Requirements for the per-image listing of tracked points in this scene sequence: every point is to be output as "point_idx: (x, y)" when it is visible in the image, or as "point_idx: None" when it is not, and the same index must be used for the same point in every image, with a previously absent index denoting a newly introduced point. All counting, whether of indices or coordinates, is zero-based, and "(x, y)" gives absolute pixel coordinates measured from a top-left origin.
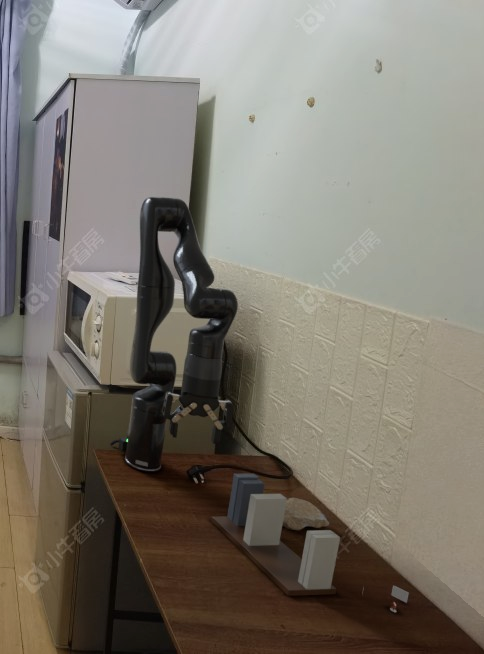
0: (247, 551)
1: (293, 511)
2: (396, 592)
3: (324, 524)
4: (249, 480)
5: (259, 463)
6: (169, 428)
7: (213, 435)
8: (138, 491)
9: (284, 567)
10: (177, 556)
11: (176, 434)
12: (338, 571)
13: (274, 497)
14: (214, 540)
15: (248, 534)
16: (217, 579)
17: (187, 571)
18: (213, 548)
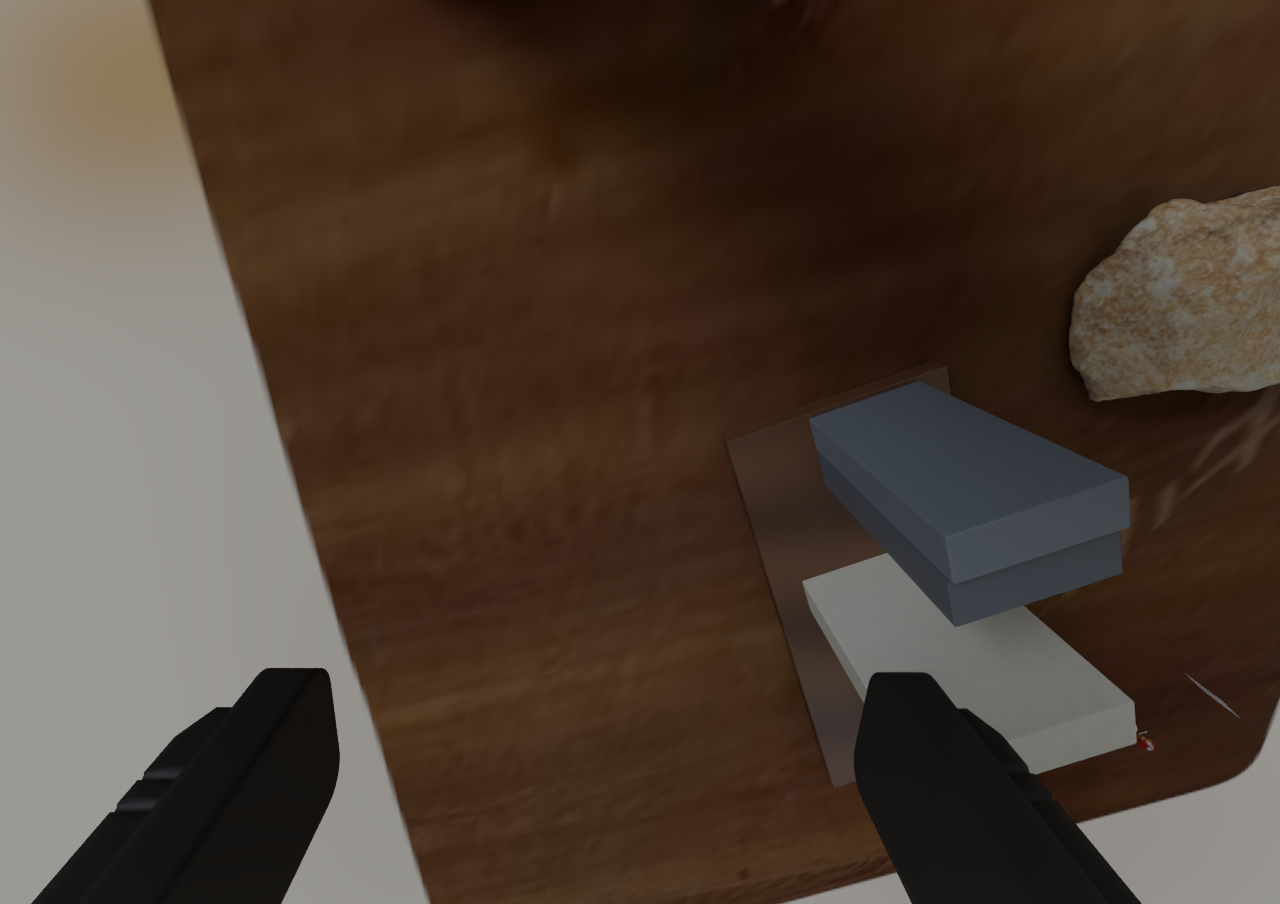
0: (786, 638)
1: (1197, 353)
2: (1207, 691)
3: None
4: (1024, 571)
5: None
6: (152, 787)
7: (914, 831)
8: (364, 255)
9: None
10: (501, 711)
11: (309, 832)
12: (1095, 603)
13: (1057, 759)
14: (683, 573)
15: (823, 627)
16: (618, 772)
17: (522, 770)
18: (660, 624)
